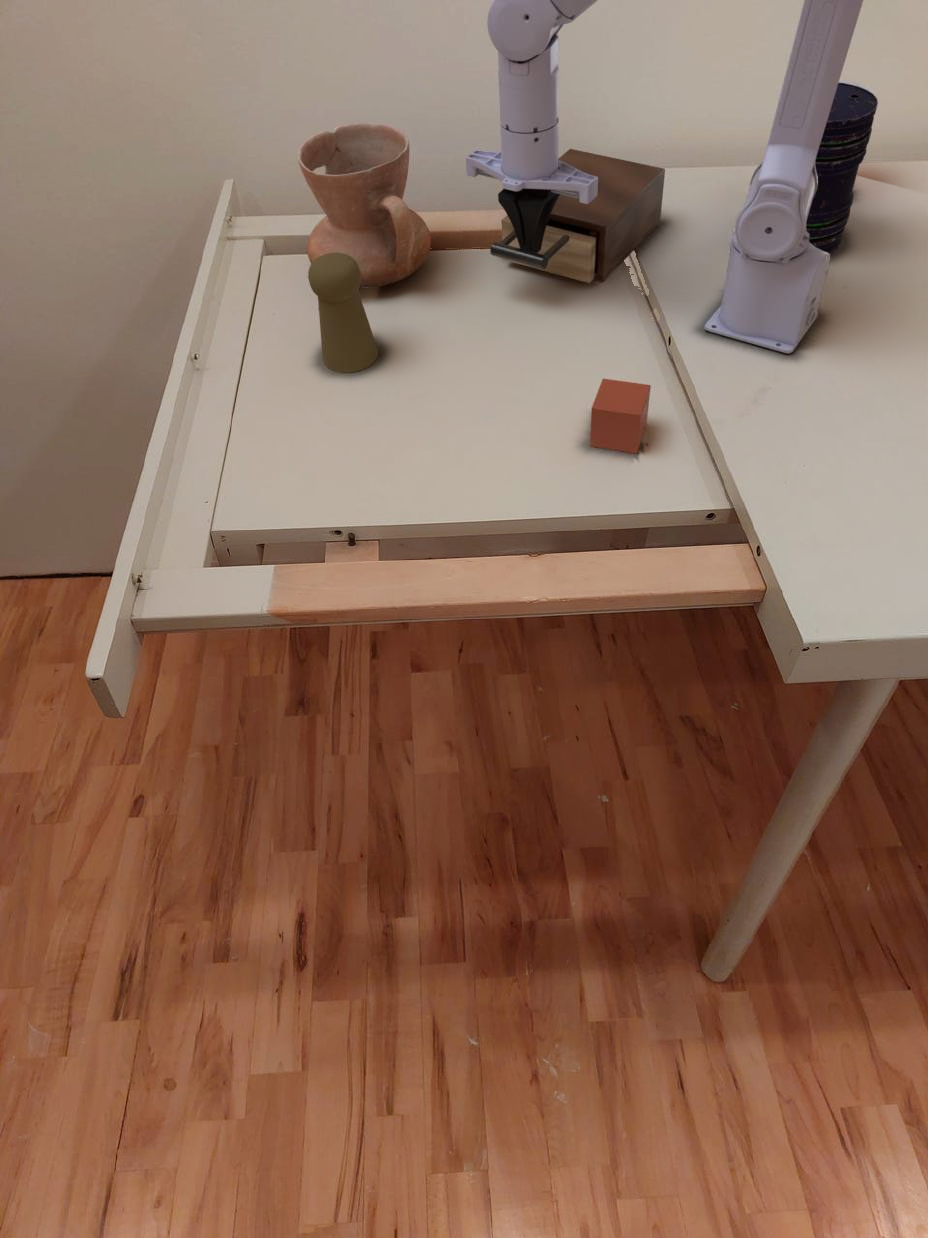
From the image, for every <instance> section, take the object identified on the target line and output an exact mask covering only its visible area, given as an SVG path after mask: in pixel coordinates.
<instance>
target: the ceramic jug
mask: <svg viewBox="0 0 928 1238" xmlns="http://www.w3.org/2000/svg"><path fill="white" fill-rule="evenodd" d="M297 153H298V154H297V161H298V164H299V167H300V170H301V173H302V175H303V177H304V180H305V182H306V184H307V185H308V188H309V189H310V192H312V194H313V196H314V198H315V200H316V202H317V203H318V204H319V206H320V208H321V209H322V211H323V212H324V214H325V216H324V217H323V218H322V219H321V220H320V221H319V222H318V223H317V224H316V225H315V226H314V228H313V229H312V230H311V233H310V235H309V237H308V240H307V246H306V253H307V257H308V259H309V262H310V265H311V264H312V262H313V261H314V260H315V259H317V258H318V257H320V256H322V255H325V254H329V253H343V254H347V255H349V256H351V257H352V258H353V259H354V260H355V261H356V262H357V264H358V266H359V269H360V272H361V283H360V287H359V288H358V289H366V288H378V287H384V286H387V285H391V284H395V283H397V282H400V281H402V280H404V279H406V278H408V277H409V276H410V275H411V276H412V274H414V273H415V272H416V271H417V270H418V269H419V268H420V267H421V266H422V265H423V264H424V262H425V261H426V260H427V258H428V256H429V253H430V251H431V247H432V246H431V245H432V237H431V233H430V229H429V227H428V226H427V223H426V222H425V220H424V219H423V218H422V216H420V215H419V214H418V213H417V212H416V211H414V210H412V209H411V208H410V207H409V206H408V204H407V202H406V201H405V200H403V198H404V195H405V192H406V191H405V190H406V186H407V181H408V176H409V175H408V174H409V167H410V166H409V165H410V141H409V137H408V135H407V134H406V133H405V132H404V131H403V130H402V129H401V128H398V127H396V126H393V125H391V124H390V125H389V124H387V123H379V122H378V123H376V122H353V123H346V124H341V125H338V126H335V127H334V128H333V130H332V131H331V130H327V129H325V130H324V129H323V130H321V131H319V132H317V133H315V134H313V135H312V136H310V137H309V138H307V139H306V140H305V141H304V142H303V143H302V144H301V146H300V147H299V149H298V152H297ZM322 167H324V168H325V171H324V173H319V172H316V171H315V170H316V169H320V168H322Z"/></svg>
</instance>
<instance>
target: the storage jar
mask: <svg viewBox="0 0 928 1238" xmlns="http://www.w3.org/2000/svg"><path fill="white" fill-rule="evenodd" d="M878 104H879V101H878V98H877V96H875V93H874V94H873V93H871V92H870V91H868V90H866V89H864V88H861V87H859V86H855V85H851V84H846V83H838V86H837V89H836V93H835V96H834V99H833V103H832V106H831V109H830V113H829V116H828V119H827V123H826V126H825V129H824V133H823V136H822V139H821V143H820V146H819V149H818V153H817V156H816V161H815V166H816V172H817V176H818V186H817V190H816V193H815V196H814V198H813V200H812V203H811V207H810V210H809V214H808V218H807V221H806V228H807V233H809V242H810V243H811V244H812V245H813V246H815V247H816V248H818V249H820V250H822V251H825V252H827V253H829V254H830V255H833V254H834V253H835V252H836V251H838V250H839V248H840V246H841V244H842V240H843V234H844V232H845V229H846V226H847V225H848V222H849V218H850V214H851V208H852V206H853V203H854V197H855V195H854V194H855V193H854V187H855V183H856V180H857V179H856V178H857V175H858V171H859V168H860V165H861V164H862V163H863V161H864V159H865V156H866V154H867V150H868V149H867V147H868V144H869V143H870V140H871V137H872V132H873V128H872V127H873V124H874V119H875V117H874V116H875V115H876V112H877V109H878V106H879V105H878Z"/></svg>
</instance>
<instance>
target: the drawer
mask: <svg viewBox="0 0 928 1238" xmlns="http://www.w3.org/2000/svg"><path fill="white" fill-rule="evenodd" d="M598 249H599V231H595V230H591V229H587V228H583V227H579V226H575V225H571V224H567V223H562V222H558V221H554V220H550V219H549V220H548V223H547V226H546V229H545V233H544V237H543V242H542V247H541V250H540V251H539V252H538V253H535V252H531V251H528V250H524V249H520V246H519V243H518V240H517V236H516V233H515V231H514V228H513V225H512V223H511V221H510V219H509V217H508V215H507V214H506V215H505V216H504V217H503V218H502V219H501V241H499V242H498V241H493V243H491V245H490V250H489V251H490V255H491V256H493V257H496V258H500V259H503V260H504V261H508V262H511V263H514V264H518V265H521V266H524V267H525V266H526V267H529V268H532V269H537V270H540V271H543V272H546V273H551V274H554V275H558V276H562V277H565V278H569V279H572V280H577V281H580V282H584V283H587V284H590V283H591V282H592V281H594V280H593V279H594V271H595V268H596V267H597V266H598Z"/></svg>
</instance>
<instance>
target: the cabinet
mask: <svg viewBox="0 0 928 1238" xmlns="http://www.w3.org/2000/svg"><path fill="white" fill-rule="evenodd" d="M558 160H560V161H562V162H564V163H566V164H568V165H570V166H572V167H574V168H576V169H578V170H580V171H582V172H584V173H586V174H589V175H593V176H596V177H598V190H597V196H596V197H595V198H594V199H593V200H592V201H591V202H590V203H589V204H584V203H581V202H579V198H575V197H570V196H566V195H562V194H560V196H559V197H558V199H557V201H556V203H555V205H554V207H553V210H552V212H551V214H550V217H549V219H550V220H554V221H558V222H562V223H567V224H571V225H575V226H579V227H583V228H587V229H591V230H595V231H599V249H598V266H597V267H596V268H595V271H594V279H593V280H592V281H597V282H601V283H604V282H605V281H606V280H607V279H608V278H609V277H610V276H611V275H612V274H613V273H614V272H615V271H616V270H617V269H618V268H619V267H620V266H621V265H622V263H623V262H624V261H625V260H626V259H627V258H628V257H629V256H630V255H631V254H632V253H633V251H635V250H636V249H637V248H638V247H639V246H640V245H641V244H642V243H643V242H644V241H645V239H647V238H648V237H649V236H650V234H651V233H653V231H654V230H655V229H656V228H657V227H658V226H659V225H660V224H661V217H662V216H661V215H662V206H663V197H664V196H663V195H664V188H665V187H664V185H665V178H666V176H665V175H666V168H663V167H658V166H654V165H649V164H644V163H640V162H634V161H631V160H625V159H620V158H616V157H611V156H607V155H602V154H597V153H593V152H589V151H582V150H578V149H573V148H569V149H568V150H566V151H565V152H564V153H563V154H562V155H561V156H560V157H558Z"/></svg>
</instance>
